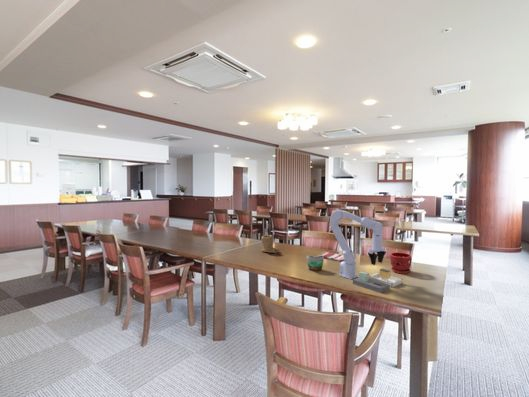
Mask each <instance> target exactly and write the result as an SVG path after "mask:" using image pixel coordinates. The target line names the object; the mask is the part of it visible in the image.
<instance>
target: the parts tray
mask: <svg viewBox="0 0 529 397" xmlns="http://www.w3.org/2000/svg"><path fill="white" fill-rule="evenodd" d="M369 279H371V280H375V281H378V282H381V283H385V284H388V285H389V288H395V287H397V286H400V285H402V284H403V278H399V277H395V276H392V275H390V278H389V280H388V282H387V281H384V280H381V277H380V272H377V273H374V274H369Z"/></svg>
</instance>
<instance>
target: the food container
mask: <svg viewBox="0 0 529 397" xmlns="http://www.w3.org/2000/svg"><path fill="white" fill-rule="evenodd" d="M306 259H307V268H308V271H309V272H310V271H311V272H321V271H322V270H323V263H324V260H325V259H324V255H323V256H322V257H319V256H318V255H308V254H306Z"/></svg>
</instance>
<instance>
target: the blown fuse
mask: <svg viewBox="0 0 529 397" xmlns="http://www.w3.org/2000/svg"><path fill="white" fill-rule="evenodd" d="M379 273H380V277H381V280H384V281H387V282H388V280H389V278H390V276H391V270H390V269H386V268H380V269H379Z"/></svg>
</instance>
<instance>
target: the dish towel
mask: <svg viewBox="0 0 529 397" xmlns="http://www.w3.org/2000/svg"><path fill="white" fill-rule="evenodd" d="M323 255H324V259H323V260H329V261H334V262H335V261H336V262H340V263H341V262H342V261H344V255H343V254H339V253H335V252H328V251H327V252H324V253H322V254H319V255H317V256H319V257H322V256H323Z"/></svg>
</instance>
